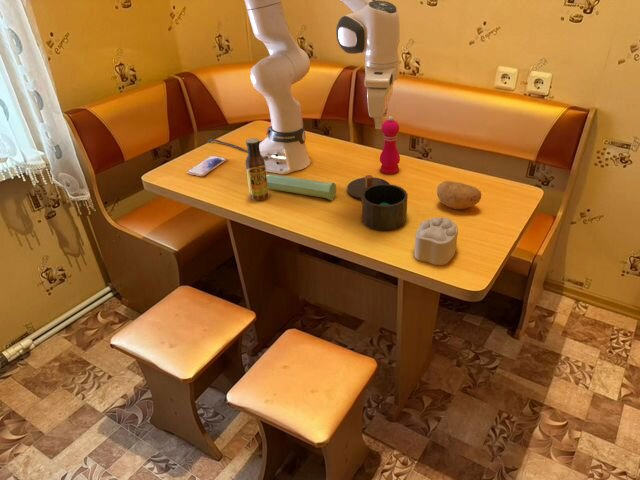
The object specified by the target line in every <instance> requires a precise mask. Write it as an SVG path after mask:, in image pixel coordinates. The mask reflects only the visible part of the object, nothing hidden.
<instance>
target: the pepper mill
mask: <svg viewBox="0 0 640 480" xmlns="http://www.w3.org/2000/svg"><path fill="white" fill-rule="evenodd" d="M381 132H382V133H383V134H382V139H383V141H384V145H383V148H382V150H381V153H380V155H379V163H380V171H381V173H383V174H386V175H394V174H396V173H398V172H399V163H400V162H401V156H400V153H399V150H398V148H397V140H398V138H399V137H398V136H399V135H398V133H399V132H400V125H399V123H398V122H397V121H396V120H394V117H393V115H390V116H388V117H387V120H385V121H384V122H382V128H381Z"/></svg>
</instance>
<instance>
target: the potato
mask: <svg viewBox="0 0 640 480" xmlns="http://www.w3.org/2000/svg"><path fill="white" fill-rule="evenodd" d="M436 187H437V188H436V195H437V197H438V199H439V201H440V202H441V203H442V204H444V205H445V206H447V207H449V208H451V209H453V210H465V209H470V208H472V207H474V206H475V205H477V204H478V203H480V201H481V199H482V192H481V190H479V188H477V187H476V186H473V185H469V184H466V183H462V182H456V181H451V180H444V181H442V182H440V183H439V184H438V186H436Z"/></svg>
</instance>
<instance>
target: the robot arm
mask: <svg viewBox="0 0 640 480" xmlns="http://www.w3.org/2000/svg"><path fill="white" fill-rule="evenodd" d="M339 2H342V3H343V4H344V5H345V6H346V7H348V9H349V10H351V13H348V14H346V15H344V16H341V18H339V20H338V22H337V24H336V28H335V29H336V30H335V36H336V37H335V38H336V41H337V44H338V46H339V48H340V49H341V50H343V51H344V52H345V53H347V54H351V55H352V54H354V55H355V54H363V55H364V57H365V59H364V69H365V70H364V71H365V72H364V87H365V88H366V99H367V111H368V116H369V117H370V118H373V121H374V129H376V130H382V125H383V117H387V115H388V108H389V104H390V101H391V98H392V96H393V91H394V82H395V81H397V80H398V79H399V71H400V70H399V67H400V56H399V50H398V49H399V45H400V40H401V39H400V38H401V37H400V36H401V27H400V26H401V25H400V24H401V23H400V22H401V21H400V15H399V11H398V8H397V6H396V5H395V4H393V3H392V2H389V1H386V0H339ZM244 5H245V8H246V13H247V15H248V19H249V22H250V26H251V29H252V33H253V35H254V37H255V38H256V40H258V41H260V42H261V43H263V45H264V47H266V49H267V51H268V53H269V55H267V56H265V57H263V58H261V59H260V60H258V61H257V62H256V63H255V64H254V65H253V66H252V67H251V69H250V73H249V79H250V82H251V85H252V87H253V88H254V89H255V91H257V92H258V93H259V94H260V95H262V96H263V98H264V99H265V102H266V104H267V107H268V110H269V117H270V123H269V126H268V127H267V130H266V131H265V135H266V137H265V138H264V139H262V140H259V143H260V144H259V149H260V154H261V155H262V157H263V158H264V161H265V166H266V173H273V174H277V175H278V174H279V175H289V174H290V173H293V172H297V171H298V172H299V171H301V170H303V169H306V168H307V167H309V166H310V165H311V162H312V161H311V158H310V156H309V152H308V149H307V144H306V139H307V137H306V136H307V135H306V130H305V124H304V122H303V120H304V119H303V111H302V110H303V109H302V104H301V102H300V101H299V100H298V99H296V98H295V97H294V95H293V92H292V85H294V84H296V83H299V82H300V81H302V80H303V79H304V77H305V76H306V75H307V74H308V73H309V71H310V69H311V60H310V56H309V54H308V53H307V52H306V51H305V50H304V49H302V48H301V47H300V46H299V45H298V44H297V43H296V40H295V39H294V37H293V35H292V33H291V31H290V29H289V26H288V21H287V17H286V14H285V11H284V7H283V3H282V0H244ZM211 142H216V143H219V144H221V145H225V146H229V147H231V148H235V149H238V150H241V151H242V152H245V153H247V154H248V150H245V149H244V148H242V147H241V146H237V145H235V144H232V143H229V142H225V141H221V140H218V139H215V138H211V139H208V141H207V143H208V144H209V143H211Z"/></svg>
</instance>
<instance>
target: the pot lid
mask: <svg viewBox="0 0 640 480" xmlns="http://www.w3.org/2000/svg"><path fill="white" fill-rule="evenodd" d="M378 184H390V182H388V181H387V180H385V179H383V178H379V177H373V175H371V174H367V175H365V177H359V178H356V179H353V180H352V181H350V182H349V183H348V184H347V187H346V191H347V193H348V194H349V195H350V196H351V197H354V198H355V199H358V200H362V193H363V191H364V190H365V189H366V188H368V187H370V186H373V185H378Z"/></svg>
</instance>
